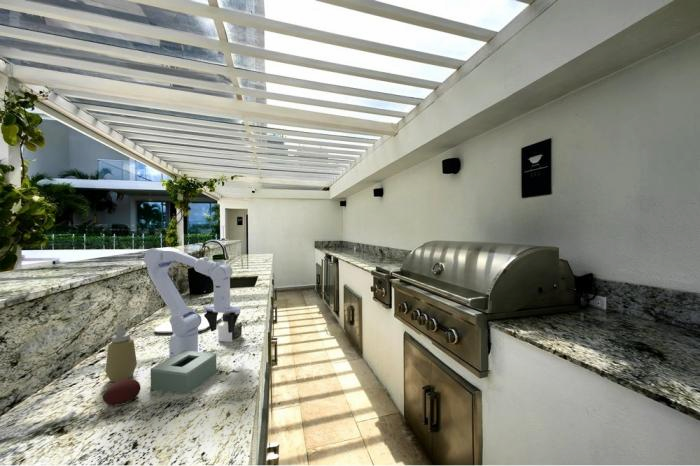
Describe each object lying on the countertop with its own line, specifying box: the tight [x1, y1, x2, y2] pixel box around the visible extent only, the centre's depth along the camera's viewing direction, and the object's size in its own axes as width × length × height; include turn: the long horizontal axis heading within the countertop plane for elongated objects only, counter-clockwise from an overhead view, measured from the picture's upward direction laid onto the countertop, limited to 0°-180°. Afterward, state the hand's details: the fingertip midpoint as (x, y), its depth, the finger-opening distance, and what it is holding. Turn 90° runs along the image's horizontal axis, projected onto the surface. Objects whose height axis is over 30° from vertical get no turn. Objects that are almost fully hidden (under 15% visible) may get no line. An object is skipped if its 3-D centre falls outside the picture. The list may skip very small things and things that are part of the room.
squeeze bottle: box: [105, 323, 138, 383], centre depth 91 cm, size 8×8×18 cm
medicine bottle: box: [217, 313, 243, 343], centre depth 123 cm, size 7×7×12 cm
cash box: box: [150, 350, 218, 395], centre depth 89 cm, size 13×13×6 cm
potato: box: [102, 378, 141, 406], centre depth 78 cm, size 7×8×6 cm
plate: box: [153, 314, 223, 334], centre depth 140 cm, size 25×25×2 cm
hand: (222, 331), depth 106 cm, fingers open, 7 cm apart
